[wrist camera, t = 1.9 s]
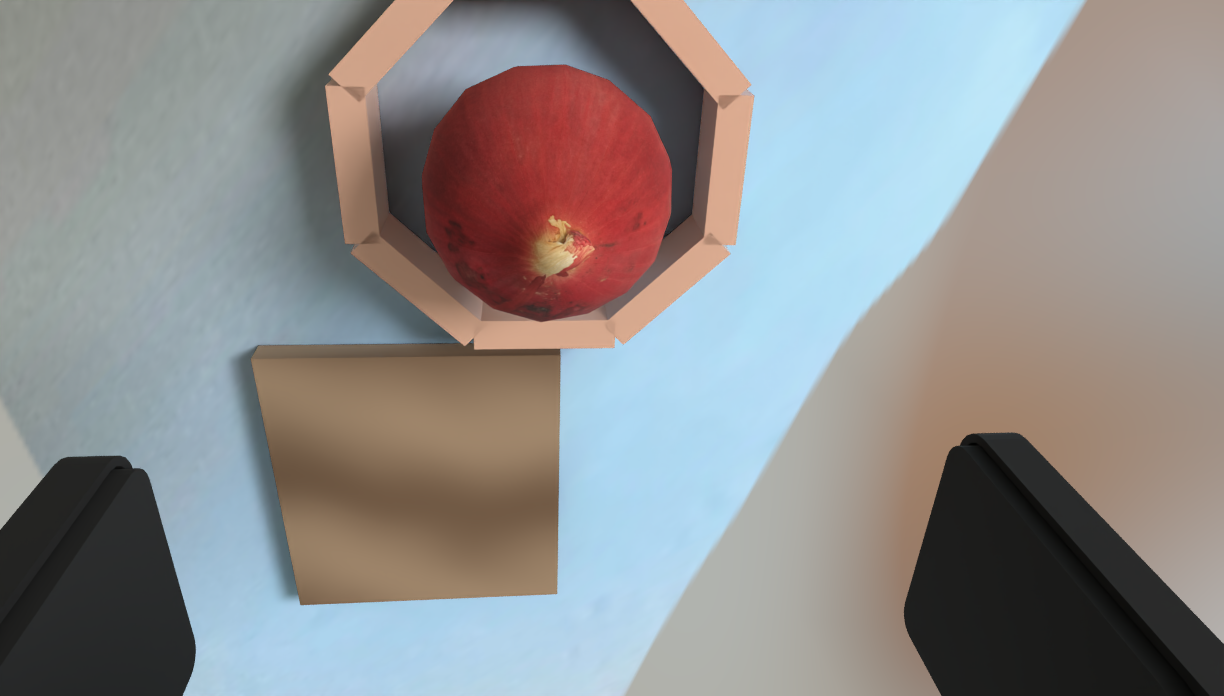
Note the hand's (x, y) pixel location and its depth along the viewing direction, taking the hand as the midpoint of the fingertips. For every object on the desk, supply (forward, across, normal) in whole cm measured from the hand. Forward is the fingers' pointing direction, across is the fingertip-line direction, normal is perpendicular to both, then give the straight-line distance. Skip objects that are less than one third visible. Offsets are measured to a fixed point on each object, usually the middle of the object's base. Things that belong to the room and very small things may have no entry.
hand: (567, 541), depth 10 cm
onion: (+15, 0, -1) cm, 15 cm away
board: (+15, +4, +10) cm, 19 cm away
